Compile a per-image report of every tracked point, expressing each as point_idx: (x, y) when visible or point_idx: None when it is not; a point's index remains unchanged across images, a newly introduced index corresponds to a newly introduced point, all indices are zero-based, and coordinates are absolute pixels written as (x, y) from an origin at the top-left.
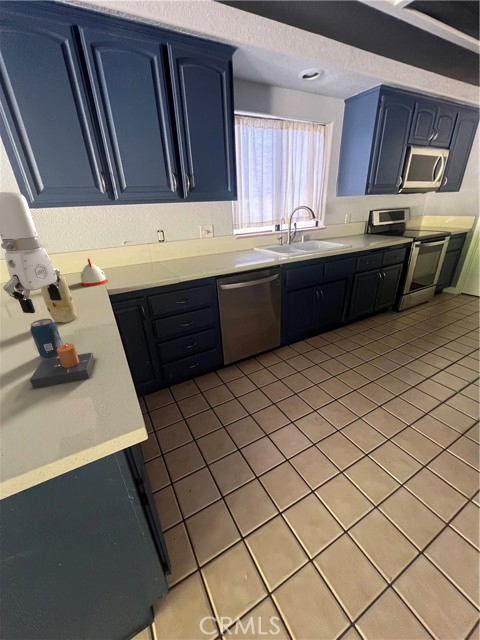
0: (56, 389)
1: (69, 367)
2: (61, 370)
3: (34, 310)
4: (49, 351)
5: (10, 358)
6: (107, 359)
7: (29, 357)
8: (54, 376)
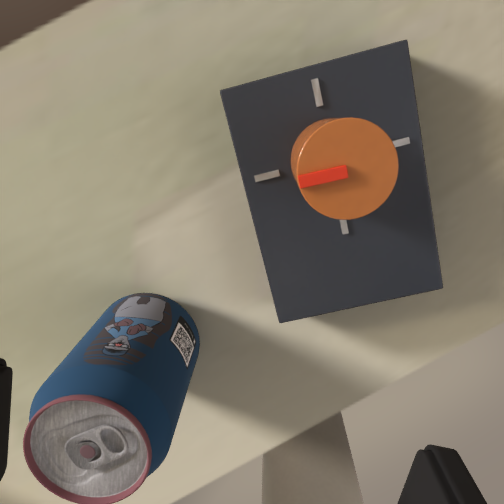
0: (454, 169)
1: None
2: None
3: (445, 459)
4: (190, 333)
5: (178, 482)
6: (222, 18)
7: None
8: (426, 192)
